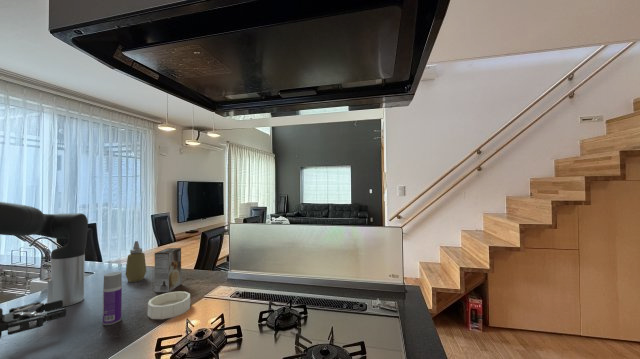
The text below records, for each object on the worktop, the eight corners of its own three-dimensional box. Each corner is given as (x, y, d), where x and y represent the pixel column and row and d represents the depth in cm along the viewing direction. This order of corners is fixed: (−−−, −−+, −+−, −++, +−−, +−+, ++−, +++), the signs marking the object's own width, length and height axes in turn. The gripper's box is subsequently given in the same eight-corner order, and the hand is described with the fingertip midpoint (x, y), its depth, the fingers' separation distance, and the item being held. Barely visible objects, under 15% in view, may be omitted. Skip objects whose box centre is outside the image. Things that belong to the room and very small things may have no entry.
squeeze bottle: (138, 283, 119) (138, 242, 119) (120, 283, 119) (121, 243, 119) (150, 277, 127) (150, 239, 127) (133, 277, 127) (134, 239, 127)
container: (124, 319, 86) (125, 272, 86) (109, 326, 81) (110, 277, 82) (114, 316, 87) (115, 271, 88) (99, 323, 83) (99, 275, 83)
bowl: (144, 322, 83) (144, 309, 84) (151, 306, 95) (151, 295, 95) (189, 314, 88) (189, 302, 89) (190, 299, 100) (190, 289, 100)
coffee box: (167, 284, 117) (167, 247, 118) (181, 284, 117) (181, 247, 117) (153, 292, 108) (154, 252, 108) (169, 292, 108) (169, 252, 108)
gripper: (-32, 324, 59) (67, 300, 72) (-25, 306, 69) (61, 288, 81) (-33, 358, 59) (67, 329, 71) (-27, 336, 68) (61, 313, 81)
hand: (64, 307), depth 76 cm, fingers open, 8 cm apart
